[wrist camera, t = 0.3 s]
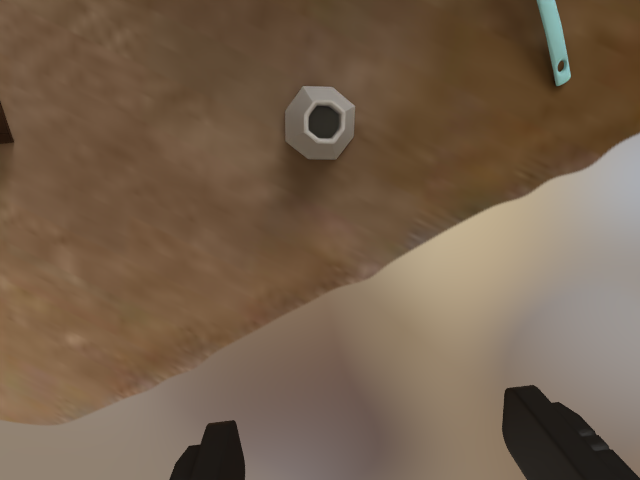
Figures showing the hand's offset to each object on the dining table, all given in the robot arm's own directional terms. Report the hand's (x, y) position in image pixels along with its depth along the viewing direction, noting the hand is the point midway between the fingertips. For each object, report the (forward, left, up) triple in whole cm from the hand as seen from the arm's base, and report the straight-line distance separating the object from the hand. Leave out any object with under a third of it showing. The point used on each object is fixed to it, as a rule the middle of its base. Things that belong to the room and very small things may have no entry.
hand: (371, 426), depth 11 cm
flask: (-9, 0, -29) cm, 31 cm away
